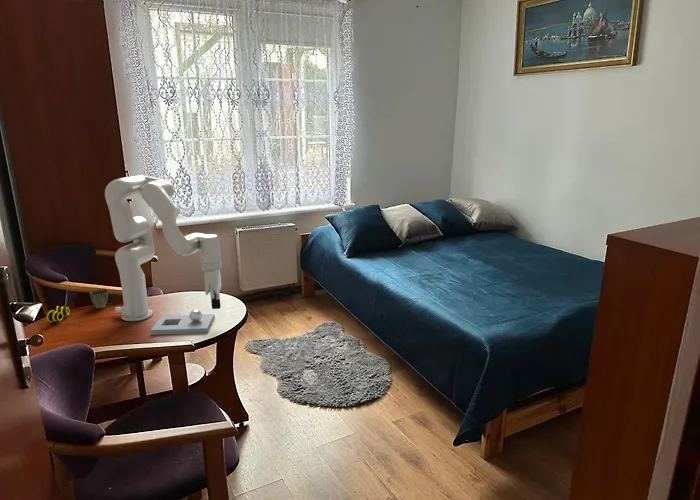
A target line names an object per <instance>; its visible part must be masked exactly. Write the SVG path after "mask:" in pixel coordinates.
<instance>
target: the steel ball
mask: <svg viewBox="0 0 700 500" xmlns="http://www.w3.org/2000/svg"><path fill="white" fill-rule="evenodd" d="M202 314H203V313H202V312H201V310H199V309H193V310H191V311H190V312H189V314H188V315H189V317H190V319H191V321H193V322H198V321H199V320H201V318H202Z"/></svg>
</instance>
